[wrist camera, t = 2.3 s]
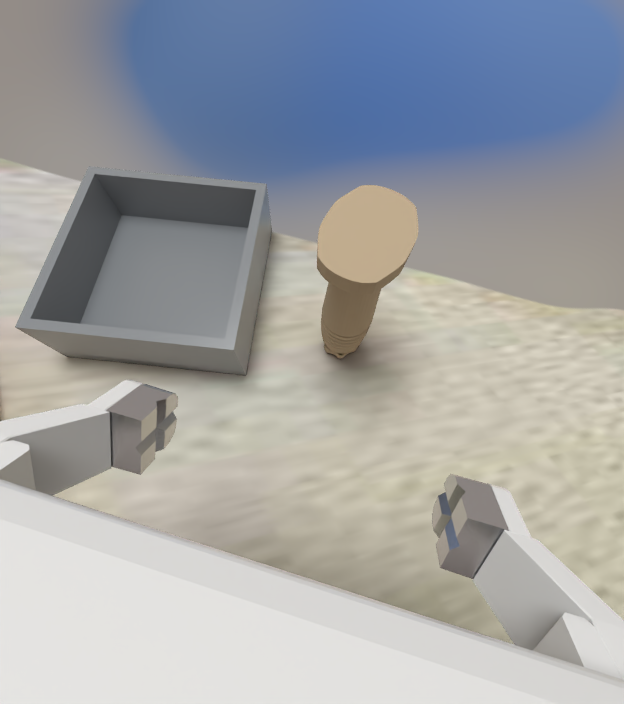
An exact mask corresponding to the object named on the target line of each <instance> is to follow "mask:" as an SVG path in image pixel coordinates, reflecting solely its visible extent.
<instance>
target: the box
mask: <svg viewBox="0 0 624 704" xmlns="http://www.w3.org/2000/svg"><path fill="white" fill-rule="evenodd" d="M271 233H272V228H271V218H270V209H269V201H268V192H267V184H262V183H252V182H242V181H232V180H222V179H211V178H201V177H191V176H181V175H171V174H160V173H150V172H140V171H130V170H120V169H110V168H99V167H90V166H89V167H88V169H87V171H86V174H85V176H84V178H83V180H82V182H81V185H80V187H79V189H78V191H77V193H76V195H75V198H74V200H73V202H72V204H71V206H70V209H69V211H68V213H67V215H66V217H65V219H64V222H63V224H62V226H61V228H60V230H59V232H58V235H57V237H56V239H55V241H54V243H53V246H52V248H51V250H50V252H49V254H48V256H47V259H46V261H45V263H44V265H43V267H42V270H41V272H40V274H39V276H38V278H37V280H36V283H35V285H34V287H33V289H32V291H31V294H30V296H29V298H28V300H27V302H26V304H25V307H24V309H23V311H22V313H21V315H20V317H19V320H18V322H17V324H16V326H15V327H16V328H17V329H19V330H21V331H23V332H24V333H26V334H28V335H30V336H31V337H33V338H35V339H37V340H38V341H40V342H42V343H44V344H45V345H47V346H49V347H51V348H52V349H54V350H56V351H58V352H60V353H61V354H63V355H65V356H67V357H76V358H85V359H95V360H104V361H114V362H123V363H133V364H142V365H152V366H161V367H171V368H180V369H190V370H199V371H209V372H218V373H228V374H237V375H246V372H247V367H248V361H249V356H250V350H251V345H252V339H253V333H254V328H255V322H256V317H257V311H258V305H259V300H260V294H261V289H262V283H263V277H264V272H265V266H266V261H267V255H268V250H269V244H270V238H271Z"/></svg>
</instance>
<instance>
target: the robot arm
mask: <svg viewBox="0 0 624 704" xmlns="http://www.w3.org/2000/svg"><path fill="white" fill-rule="evenodd" d="M177 406H178V396H177V395H176V394H175V393H172V392H169V391H166V390H163V389H159V388H156V387H153V386H150V385H147V384H143V383H140V382H137V381H133V380H124V381H123V382H121V383H120V384H118V385H117V386H115V387H114V388H112V389H111V390H109V391H108V392H106V393H105V394H103V395H102V396H100V397H99V398H97V399H96V400H94V401H93V402H91V403H90V404H88V405H84V404H79V405H74V406H69V407H65V408H60V409H55V410H50V411H46V412H41V413H36V414H32V415H27V416H22V417H17V418H13V419H8V420H3V421H0V704H624V620H623V619H622V618H621V617H619V616H618V615H617V614H616V613H615V612H614V611H613V610H612V609H611V608H610V607H609V606H608V605H607V604H606V603H605V602H604V601H602V600H601V599H600V598H599V597H598V596H597V595H596V594H595V593H594V592H593V591H592V590H591V589H590V588H589V587H588V586H586V585H585V584H584V583H583V582H582V581H581V580H580V579H579V578H578V577H577V576H576V575H575V574H574V573H573V572H572V571H571V570H569V569H568V568H567V567H566V566H565V565H564V564H563V563H562V562H561V561H560V560H559V559H558V558H557V557H556V556H555V555H553V554H552V553H551V552H550V551H549V550H548V549H547V548H546V547H545V546H544V545H543V544H542V543H541V542H540V541H539V540H537V539H533V538H532V537H531V535H530V533H529V531H528V529H527V527H526V525H525V523H524V520H523V518H522V516H521V514H520V512H519V510H518V508H517V506H516V504H515V501H514V499H513V497H512V495H511V493H510V491H509V490H507V489H506V488H503V487H499V486H496V485H492V484H488V483H487V484H486V483H482V482H479V481H475V480H471V479H468V478H464V477H461V476H457V475H454V474H450V475H449V476H448V477H447V479H446V481H445V483H444V487H445V491H446V492H445V493H443V494H441V495H439V496H438V497H437V500H436V502H435V504H434V508H433V513H432V524H433V531H434V532H435V533H436V534H437V536H438V537H439V540H438V542H437V544H436V548H437V554H438V559H439V565H440V568H442V569H445V570H448V571H451V572H454V573H457V574H460V575H463V576H466V577H469V578H471V579H473V580H472V581H473V582H474V584H475V585H476V587H477V588H478V590H479V591H480V593H481V594H482V596H483V597H484V599H485V600H486V602H487V603H488V605H489V606H490V608H491V609H492V611H493V612H494V614H495V615H496V617H497V618H498V620H499V622H500V623H501V625H502V626H503V628H504V629H505V631H506V632H507V634H508V635H509V637H510V638H511V640H512V641H513V643H514V644H515V645H514V644H511V643H508V642H505V641H502V640H499V639H495V638H492V637H489V636H486V635H483V634H480V633H477V632H474V631H470V630H467V629H464V628H461V627H458V626H455V625H452V624H449V623H445V622H442V621H439V620H436V619H433V618H430V617H427V616H424V615H421V614H417V613H414V612H411V611H408V610H405V609H402V608H399V607H396V606H393V605H390V604H387V603H383V602H380V601H377V600H374V599H371V598H368V597H365V596H362V595H359V594H356V593H353V592H350V591H346V590H343V589H340V588H337V587H334V586H331V585H328V584H325V583H322V582H319V581H316V580H313V579H309V578H306V577H303V576H300V575H297V574H294V573H291V572H288V571H285V570H281V569H278V568H275V567H272V566H269V565H266V564H263V563H260V562H257V561H253V560H250V559H247V558H244V557H241V556H238V555H235V554H232V553H229V552H225V551H222V550H219V549H216V548H213V547H210V546H207V545H204V544H201V543H197V542H194V541H191V540H188V539H185V538H182V537H179V536H176V535H173V534H170V533H166V532H163V531H160V530H157V529H154V528H151V527H148V526H145V525H142V524H138V523H135V522H132V521H129V520H126V519H123V518H120V517H117V516H114V515H111V514H107V513H104V512H101V511H98V510H95V509H92V508H89V507H86V506H83V505H80V504H76V503H73V502H70V501H67V500H64V499H61V498H58V497H55V496H52V495H55V494H57V493H59V492H61V491H63V490H65V489H67V488H70V487H72V486H74V485H76V484H78V483H80V482H83V481H85V480H87V479H89V478H91V477H93V476H95V475H98V474H100V473H102V472H104V471H106V470H108V469H111V467H115V468H118V469H122V470H126V471H129V472H133V473H136V474H140V475H141V474H142V473H143V471H144V470H145V469H146V468H147V467H148V466H149V465H150V464H151V463H152V462H153V460H154V459H155V452H156V451H159V450H162V449H164V448H165V447H166V446H167V445H168V443H169V442H170V440H171V438H172V436H173V435H174V432H175V428H176V422H177V418H176V417H175V415H174V413H173V410H174V409H175V408H176V407H177Z"/></svg>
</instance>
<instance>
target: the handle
mask: <svg viewBox="0 0 624 704" xmlns="http://www.w3.org/2000/svg"><path fill="white" fill-rule="evenodd" d="M417 236H418V218H417V210H416V207H415V206H414V204H413V203H412V202H411V201H410V200H409V199H408V198H406V197H404V196H403V195H401V194H400V193H398V192H395V191H393V190H391V189H388V188H384V187H380V186H376V185H363V186H360V187H358V188H356V189H354V190H353V191H351V192H349V193H348V194H346V195H344V196H342V197H341V198H340V199H339V200H337V201H336V202H335V203H334V205H333V206H332V207H331V209H330V210H329V212H328V213H327V215H326V216H325V218H324V219H323V221H322V223H321V225H320V228H319V233H318V248H317V269H318V271H319V272H320V274H321V275H322V276H323V277H324V279H325V280H327V281H328V282H329V283H328V287H327V292H326V296H325V300H324V304H323V308H322V318H321V331H322V337H323V341H324V343H325V345H324V349H325V351H326V352H327V353H331V354H334V355H335V356H337V358H343V357H344V356H345V355H346V354H348V353H351V352H354V351H356V349H357V348H358V346H359V344H360V343H361V341H362V340H363V338H364V336H365V335H366V333H367V331H368V329H369V326H370V324H371V322H372V319H373V315H374V312H375V308H376V305H377V301H378V298H379V294H380V291H381V288H383V287H384V286H386V285H387V284H388V283H390V282H391V281H392V280H393V279H394V278H396V277H397V276H398V275H399V274H400V272H401V271H402V269H403V267H404V265H405V263H406V261H407V259H408V257H409V255H410V252H411V250H412V249H413V247H414V244H415V242H416V239H417Z"/></svg>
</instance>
